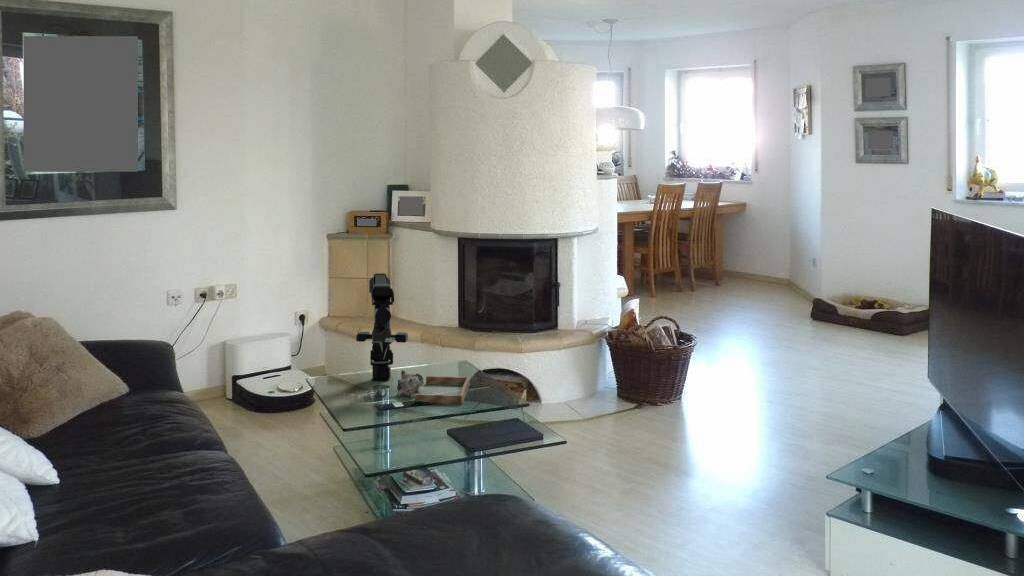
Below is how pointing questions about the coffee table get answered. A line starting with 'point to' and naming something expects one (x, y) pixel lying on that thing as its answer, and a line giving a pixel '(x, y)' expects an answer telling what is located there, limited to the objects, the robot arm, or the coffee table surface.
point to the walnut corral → (445, 398)
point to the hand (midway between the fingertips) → (382, 359)
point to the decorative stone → (409, 384)
